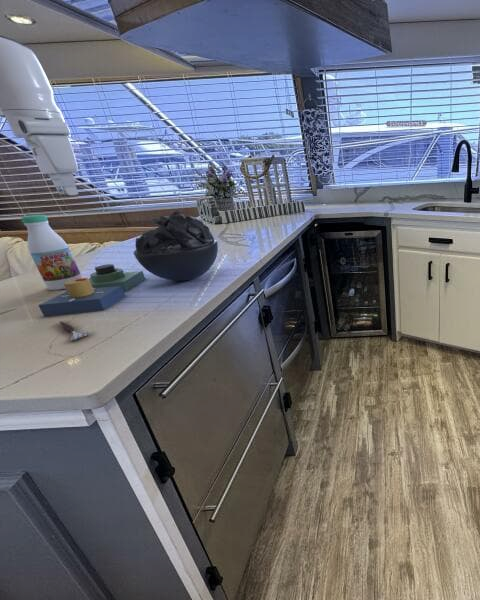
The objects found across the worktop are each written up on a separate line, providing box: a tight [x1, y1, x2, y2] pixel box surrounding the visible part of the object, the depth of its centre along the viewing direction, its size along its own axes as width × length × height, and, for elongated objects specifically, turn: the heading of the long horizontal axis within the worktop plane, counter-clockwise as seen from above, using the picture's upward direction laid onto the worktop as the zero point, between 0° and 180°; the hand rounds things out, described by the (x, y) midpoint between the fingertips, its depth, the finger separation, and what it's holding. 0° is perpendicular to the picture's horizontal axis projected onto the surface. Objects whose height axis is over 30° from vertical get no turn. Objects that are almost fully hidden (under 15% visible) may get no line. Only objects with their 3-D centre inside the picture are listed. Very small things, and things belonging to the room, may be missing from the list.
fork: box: [59, 321, 90, 341], centre depth 65 cm, size 3×16×2 cm, turn 57°
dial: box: [63, 277, 94, 298], centre depth 76 cm, size 4×4×4 cm
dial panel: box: [38, 286, 126, 318], centre depth 77 cm, size 12×9×3 cm
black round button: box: [94, 263, 116, 275], centre depth 88 cm, size 4×4×2 cm
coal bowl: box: [133, 210, 219, 282], centre depth 91 cm, size 20×20×19 cm
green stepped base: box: [88, 267, 146, 292], centre depth 89 cm, size 12×10×4 cm
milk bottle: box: [20, 214, 83, 291], centre depth 89 cm, size 8×8×20 cm
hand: (68, 194), depth 75 cm, fingers open, 8 cm apart
